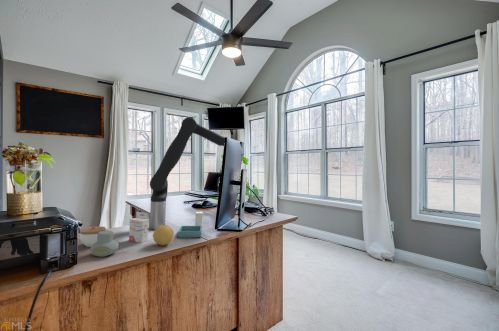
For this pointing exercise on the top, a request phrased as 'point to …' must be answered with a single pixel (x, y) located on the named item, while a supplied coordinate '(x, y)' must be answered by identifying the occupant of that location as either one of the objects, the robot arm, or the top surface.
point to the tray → (189, 231)
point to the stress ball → (163, 235)
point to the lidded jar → (90, 235)
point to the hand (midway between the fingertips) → (221, 192)
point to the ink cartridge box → (139, 228)
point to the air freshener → (104, 244)
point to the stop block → (199, 219)
